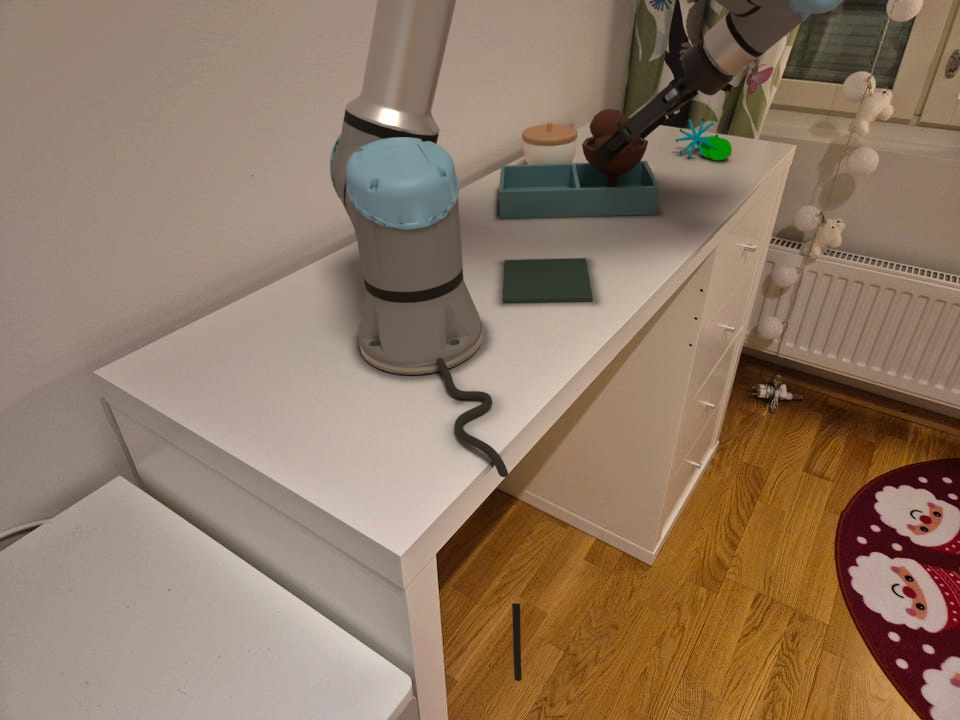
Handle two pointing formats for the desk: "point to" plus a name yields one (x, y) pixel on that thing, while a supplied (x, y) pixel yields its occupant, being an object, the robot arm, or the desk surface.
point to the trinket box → (549, 144)
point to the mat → (546, 281)
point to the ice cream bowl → (602, 131)
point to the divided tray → (575, 191)
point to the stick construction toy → (707, 143)
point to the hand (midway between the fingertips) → (616, 147)
